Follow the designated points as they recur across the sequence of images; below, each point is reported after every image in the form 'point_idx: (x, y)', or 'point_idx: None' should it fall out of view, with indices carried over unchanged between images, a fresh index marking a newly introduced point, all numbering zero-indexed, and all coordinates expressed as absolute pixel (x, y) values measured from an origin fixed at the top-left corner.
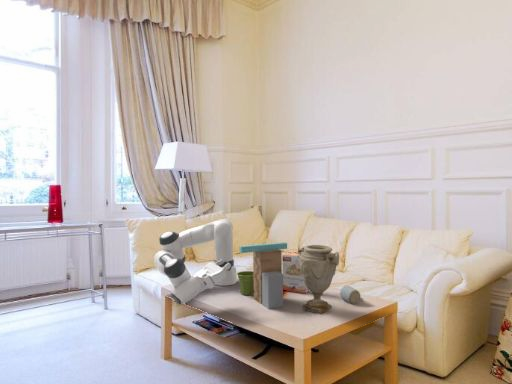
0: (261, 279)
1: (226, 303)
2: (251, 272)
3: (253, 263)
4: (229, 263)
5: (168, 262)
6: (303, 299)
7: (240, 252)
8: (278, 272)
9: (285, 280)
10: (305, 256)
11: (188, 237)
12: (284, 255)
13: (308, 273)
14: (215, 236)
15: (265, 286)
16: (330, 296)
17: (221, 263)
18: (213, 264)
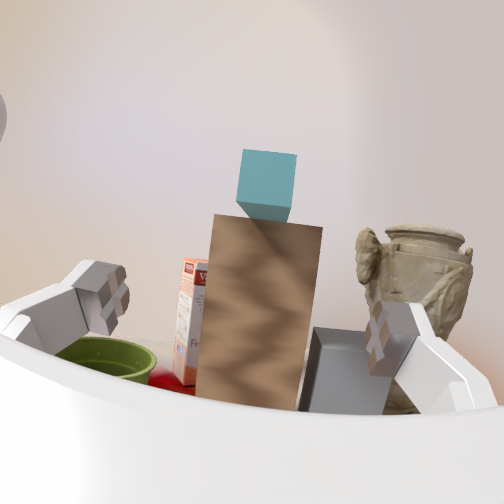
0: (298, 383)
1: None
2: (92, 342)
3: (206, 300)
4: (419, 308)
5: None
6: (298, 399)
7: (264, 203)
8: (340, 330)
9: (197, 353)
10: (454, 254)
11: None
12: (204, 265)
13: (459, 308)
14: None
15: (352, 410)
16: (303, 368)
17: (101, 326)
18: (25, 376)
